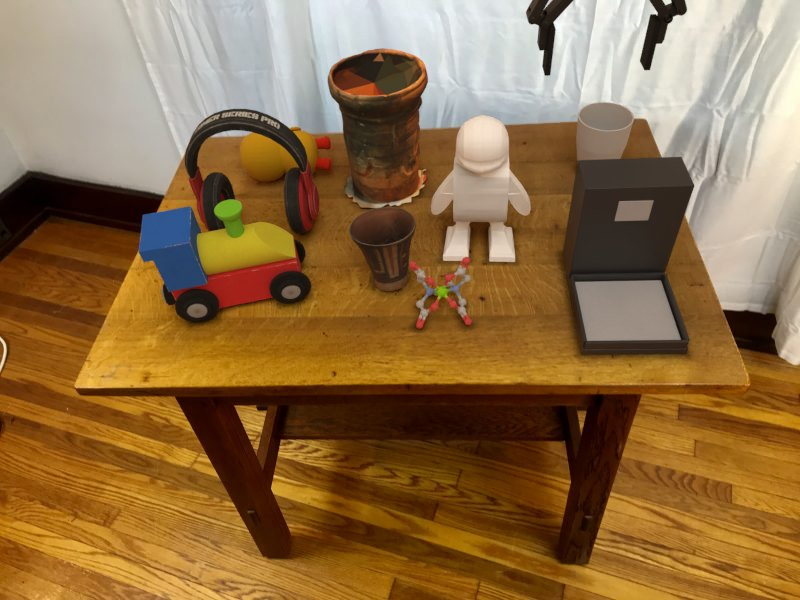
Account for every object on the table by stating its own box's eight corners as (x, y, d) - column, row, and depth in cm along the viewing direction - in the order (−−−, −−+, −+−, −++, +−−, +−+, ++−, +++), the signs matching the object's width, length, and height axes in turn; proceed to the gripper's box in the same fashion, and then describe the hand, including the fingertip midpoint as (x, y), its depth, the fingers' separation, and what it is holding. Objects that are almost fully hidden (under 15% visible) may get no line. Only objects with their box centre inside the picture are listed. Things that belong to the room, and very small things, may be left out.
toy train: (171, 286, 89) (130, 204, 78) (308, 259, 91) (287, 175, 80) (168, 332, 83) (124, 251, 72) (315, 302, 85) (293, 218, 74)
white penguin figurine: (430, 260, 89) (424, 140, 75) (434, 220, 95) (429, 101, 81) (528, 262, 88) (542, 140, 73) (525, 221, 94) (538, 100, 79)
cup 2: (631, 177, 99) (645, 122, 92) (587, 191, 97) (598, 136, 90) (602, 151, 104) (613, 97, 97) (560, 164, 103) (567, 110, 95)
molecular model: (411, 290, 86) (407, 251, 80) (468, 286, 85) (469, 246, 80) (413, 330, 81) (410, 291, 75) (474, 326, 80) (475, 286, 75)
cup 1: (389, 246, 92) (383, 191, 85) (432, 274, 87) (430, 219, 80) (344, 277, 88) (333, 223, 81) (387, 309, 84) (380, 255, 76)
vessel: (433, 210, 97) (429, 92, 82) (342, 215, 98) (322, 99, 83) (430, 157, 107) (426, 43, 92) (348, 161, 107) (330, 49, 93)
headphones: (324, 205, 100) (301, 90, 85) (319, 247, 93) (293, 130, 78) (217, 211, 101) (176, 98, 86) (204, 253, 94) (157, 138, 79)
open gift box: (686, 354, 75) (728, 258, 64) (581, 355, 76) (604, 261, 64) (651, 252, 87) (681, 156, 76) (562, 254, 88) (577, 160, 77)
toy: (332, 135, 108) (246, 139, 108) (327, 116, 100) (233, 121, 99) (334, 186, 107) (247, 190, 107) (329, 171, 99) (235, 175, 99)
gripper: (726, -124, 73) (678, 50, 89) (512, -109, 75) (503, 60, 90) (748, -105, 68) (694, 76, 84) (519, -89, 70) (508, 86, 85)
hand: (595, 68), depth 87 cm, fingers open, 13 cm apart
